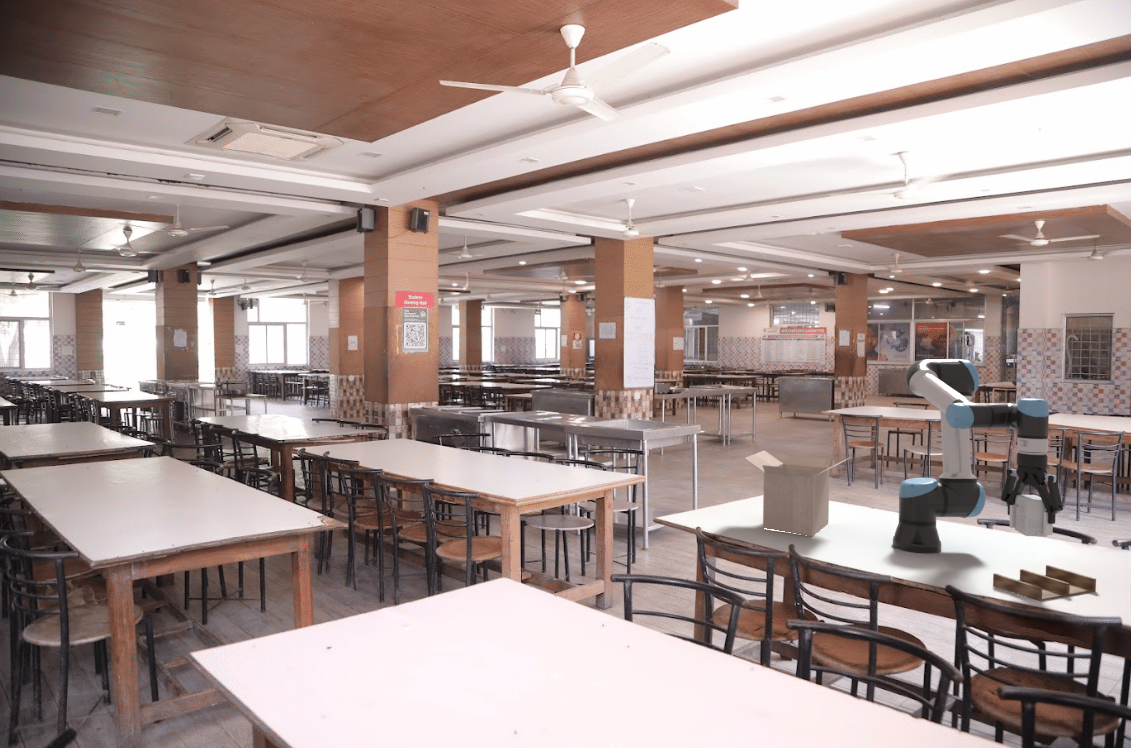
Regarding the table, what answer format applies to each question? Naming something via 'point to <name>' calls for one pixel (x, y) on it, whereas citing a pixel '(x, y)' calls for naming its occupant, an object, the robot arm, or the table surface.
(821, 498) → the box
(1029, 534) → the small box
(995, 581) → the rack
